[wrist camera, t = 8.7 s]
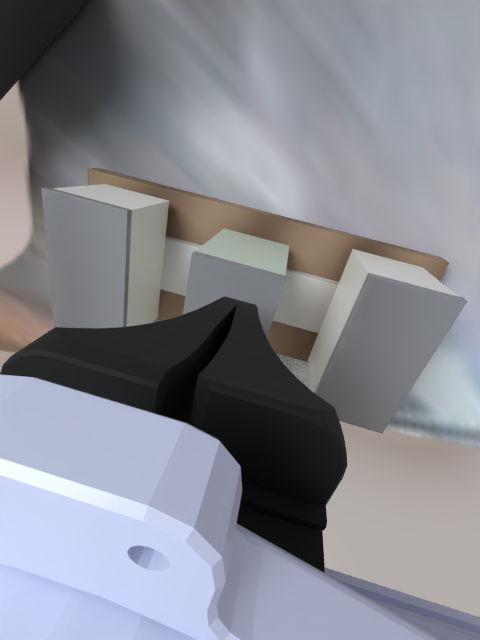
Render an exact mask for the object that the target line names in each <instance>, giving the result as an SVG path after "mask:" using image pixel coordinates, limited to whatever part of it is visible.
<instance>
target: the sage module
mask: <svg viewBox="0 0 480 640" xmlns="http://www.w3.org/2000/svg"><path fill="white" fill-rule="evenodd" d="M288 253H289V246H288V245H285V244H281V243H277V242H274V241H270V240H266V239H262V238H259V237H255V236H251V235H247V234H244V233H240V232H236V231H232V230H229V229H225V228H224V229H223V230H221V231H220V232H219V233H218V234H216V235H215V236H214V237H213V238H211V239H210V240H209V241H208V242H206V243H205V244H204V245H203V246H201V247H200V248H199V249H198V250H196V251H194V252H193V253H192V255H191V262H190V269H189V276H188V282H187V289H186V296H185V303H184V310H183V315H184V314H186V313H189V312H191V311H194V310H197V309H199V308H201V307H203V306H206V305H208V304H210V303H212V302H214V301H216V300H218V299H220V298H222V297H224V296H226V297H229V298H233V299H237V300H240V301H244V302H248V303H251V304H255V305H256V306H257V307H258V314H259V318H260V322H261V325H262V328H263V330H264V333H265V335H266V337H268V334H269V330H270V327H271V324H272V321H273V318H274V314H275V311H276V308H277V305H278V302H279V298H280V295H281V292H282V289H283V286H284V282H285V279H286V276H285V275H286V268H287V260H288Z"/></svg>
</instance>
